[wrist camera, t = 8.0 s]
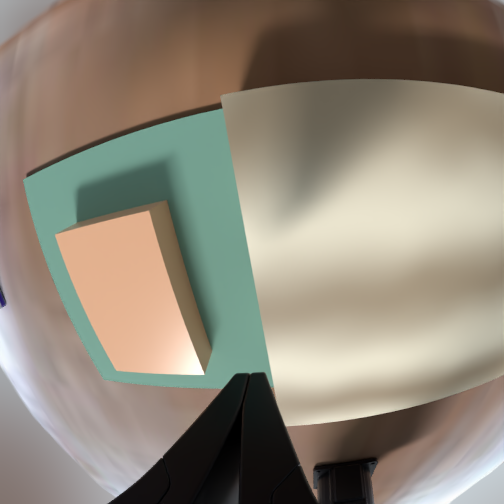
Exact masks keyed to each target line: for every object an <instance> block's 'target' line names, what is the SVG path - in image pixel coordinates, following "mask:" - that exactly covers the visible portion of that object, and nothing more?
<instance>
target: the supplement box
mask: <svg viewBox="0 0 504 504" xmlns="http://www.w3.org/2000/svg"><path fill="white" fill-rule="evenodd" d="M4 306H6V303H5V300H4V297H3V295H2V293H1V290H0V309H1V308H2V307H4Z"/></svg>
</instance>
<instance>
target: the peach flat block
mask: <svg viewBox="0 0 504 504" xmlns="http://www.w3.org/2000/svg"><path fill="white" fill-rule="evenodd" d="M55 237H56V240H57V243H58V246H59V248H60V251H61V254H62V257H63V260H64V262H65V265H66V268H67V270H68V273H69V275H70V278H71V280H72V283H73V285H74V288H75V290H76V292H77V295H78V297H79V299H80V301H81V304H82V306H83V308H84V310H85V312H86V314H87V317H88V319H89V321H90V323H91V325H92V327H93V329H94V331H95V333H96V335H97V337H98V339H99V341H100V342H101V344H102V346H103V348H104V350H105V352H106V354H107V355H108V357H109V359H110V361H111V362H112V364H113V366H114V368H115V369H116V371H124V372H137V373H153V374H181V375H205V372H206V369H207V366H208V363H209V360H210V357H211V353H212V349H211V346H210V343H209V340H208V337H207V335H206V332H205V329H204V326H203V323H202V320H201V317H200V313H199V310H198V307H197V304H196V301H195V298H194V295H193V291H192V288H191V285H190V282H189V278H188V275H187V272H186V268H185V265H184V261H183V258H182V254H181V251H180V247H179V244H178V240H177V236H176V233H175V229H174V225H173V221H172V218H171V214H170V210H169V206H168V202H167V200H164V201H160V202H155V203H151V204H147V205H143V206H138V207H134V208H130V209H126V210H122V211H118V212H114V213H110V214H107V215H103V216H99V217H95V218H92V219H88V220H85V221H81V222H77V223H75V224H73V225H71V226H70V227H68V228H66V229H64V230H62V231H60V232H59V233H57V234H55Z"/></svg>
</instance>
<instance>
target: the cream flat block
mask: <svg viewBox="0 0 504 504" xmlns="http://www.w3.org/2000/svg"><path fill="white" fill-rule="evenodd" d="M220 96H221V102H222V107H223V113H224V118H225V124H226V129H227V135H228V140H229V146H230V151H231V157H232V162H233V168H234V173H235V179H236V184H237V190H238V195H239V201H240V206H241V212H242V217H243V223H244V228H245V234H246V239H247V244H248V250H249V255H250V261H251V266H252V272H253V277H254V282H255V288H256V293H257V299H258V304H259V309H260V315H261V320H262V325H263V331H264V336H265V341H266V347H267V352H268V357H269V363H270V368H271V373H272V379H273V384H274V389H275V395H276V400H277V405H278V408H279V410H280V413H281V415H282V418H283V421H284V423H285V426H296V425H309V424H319V423H328V422H336V421H343V420H350V419H357V418H362V417H368V416H374V415H379V414H384V413H388V412H393V411H397V410H402V409H406V408H410V407H414V406H417V405H421V404H425V403H428V402H432V401H435V400H438V399H442V398H445V397H448V396H451V395H454V394H457V393H460V392H463V391H465V390H468V389H471V388H473V387H476V386H479V385H481V384H484V383H486V382H489V381H491V380H493V379H496V378H498V377H500V376H502V375H504V94H502V93H498V92H493V91H489V90H484V89H478V88H473V87H467V86H460V85H453V84H446V83H437V82H427V81H414V80H396V79H345V80H326V81H313V82H302V83H293V84H284V85H276V86H269V87H263V88H256V89H251V90H245V91H239V92H234V93H229V94H224V95H220Z"/></svg>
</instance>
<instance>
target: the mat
mask: <svg viewBox="0 0 504 504" xmlns="http://www.w3.org/2000/svg"><path fill="white" fill-rule="evenodd" d="M23 182H24V187H25V191H26V196H27V200H28V204H29V208H30V211H31V215H32V219H33V222H34V226H35V229H36V232H37V236H38V239H39V242H40V245H41V248H42V251H43V254H44V257H45V259H46V262H47V265H48V268H49V270H50V273H51V275H52V278H53V280H54V283H55V285H56V288H57V290H58V293H59V295H60V297H61V299H62V302H63V304H64V306H65V308H66V311H67V313H68V315H69V317H70V319H71V321H72V323H73V325H74V327H75V329H76V331H77V333H78V335H79V337H80V339H81V341H82V343H83V345H84V346H85V348H86V350H87V352H88V354H89V355H90V357H91V359H92V361H93V362H94V364H95V366H96V368H97V369H98V371H99V373H100V374H101V376H102V377H103V379H104V380H109V381H117V382H124V383H133V384H142V385H153V386H166V387H183V388H221V389H223V388H224V387H225V385H226V384H227V383H228V382H229V381H230V379H231V378H232V377H233V376H234V375H235V374H236V373H250V374H251V373H253V372H265V373H266V375H267V378H268V381H269V383H270V386H271V387H274V384H273V379H272V373H271V368H270V363H269V357H268V352H267V347H266V341H265V336H264V331H263V325H262V320H261V315H260V309H259V304H258V299H257V293H256V288H255V282H254V277H253V272H252V266H251V261H250V255H249V250H248V244H247V239H246V234H245V228H244V223H243V217H242V212H241V206H240V201H239V195H238V190H237V184H236V179H235V173H234V168H233V162H232V157H231V151H230V146H229V140H228V135H227V129H226V124H225V118H224V113H223V109H218V110H214V111H209V112H205V113H200V114H196V115H192V116H188V117H184V118H181V119H177V120H173V121H170V122H166V123H163V124H159V125H156V126H152V127H149V128H146V129H143V130H140V131H137V132H134V133H131V134H128V135H125V136H122V137H119V138H116V139H113V140H111V141H108V142H105V143H103V144H100V145H98V146H95V147H93V148H90V149H88V150H85V151H83V152H80V153H78V154H76V155H73V156H71V157H69V158H66V159H64V160H62V161H60V162H58V163H55V164H53V165H51V166H49V167H47V168H45V169H43V170H41V171H39V172H37V173H35V174H33V175H31V176H29V177H27V178H25V179H23ZM164 200H167V202H168V206H169V210H170V214H171V218H172V221H173V225H174V229H175V233H176V236H177V240H178V244H179V247H180V251H181V254H182V258H183V261H184V265H185V268H186V272H187V275H188V278H189V282H190V285H191V288H192V291H193V295H194V298H195V301H196V304H197V307H198V310H199V313H200V317H201V320H202V323H203V326H204V329H205V332H206V335H207V337H208V340H209V343H210V346H211V349H212V353H211V357H210V360H209V363H208V366H207V369H206V372H205V375H181V374H153V373H137V372H124V371H116V369H115V368H114V366H113V364H112V362H111V361H110V359H109V357H108V355H107V354H106V352H105V350H104V348H103V346H102V344H101V342H100V341H99V339H98V337H97V335H96V333H95V331H94V329H93V327H92V325H91V323H90V321H89V319H88V317H87V314H86V312H85V310H84V308H83V306H82V304H81V301H80V299H79V297H78V295H77V292H76V290H75V288H74V285H73V283H72V280H71V278H70V275H69V273H68V270H67V268H66V265H65V262H64V260H63V257H62V254H61V251H60V248H59V246H58V243H57V240H56V237H55V234H57V233H59V232H60V231H62V230H64V229H66V228H68V227H70V226H71V225H73V224H75V223H77V222H81V221H85V220H88V219H92V218H95V217H99V216H103V215H107V214H110V213H114V212H118V211H122V210H126V209H130V208H134V207H138V206H143V205H147V204H151V203H155V202H160V201H164Z"/></svg>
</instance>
